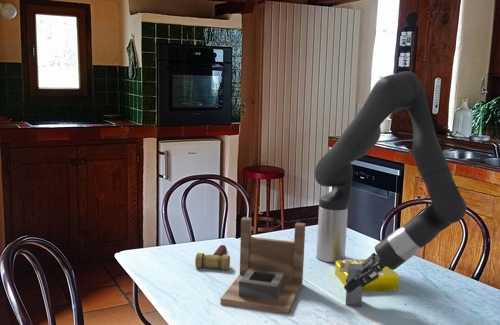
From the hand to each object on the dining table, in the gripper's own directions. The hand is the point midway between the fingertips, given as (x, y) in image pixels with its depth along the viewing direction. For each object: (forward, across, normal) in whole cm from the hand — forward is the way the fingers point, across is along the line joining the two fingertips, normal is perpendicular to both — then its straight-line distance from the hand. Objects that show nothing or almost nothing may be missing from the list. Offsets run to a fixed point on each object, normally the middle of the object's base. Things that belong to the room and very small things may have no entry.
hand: (347, 286), depth 140 cm
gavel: (+34, -20, -27) cm, 47 cm away
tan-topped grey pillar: (+2, 0, +4) cm, 5 cm away
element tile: (+1, -17, +6) cm, 18 cm away
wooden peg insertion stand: (+19, +2, -13) cm, 23 cm away
